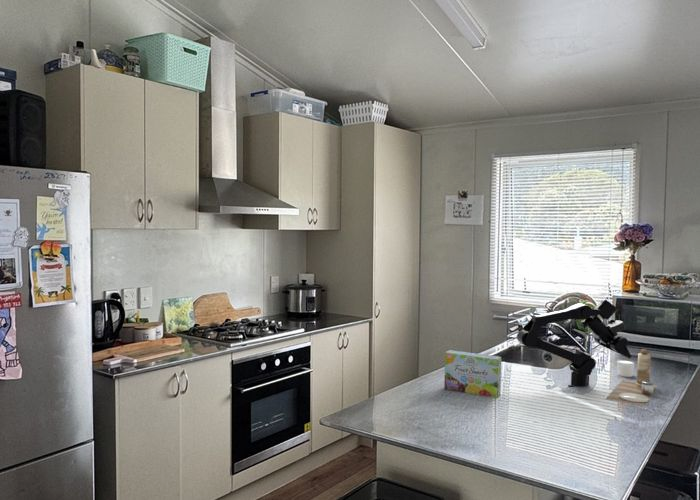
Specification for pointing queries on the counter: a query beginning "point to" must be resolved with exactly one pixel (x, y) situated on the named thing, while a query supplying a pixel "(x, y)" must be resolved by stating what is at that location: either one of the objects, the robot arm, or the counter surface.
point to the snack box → (472, 373)
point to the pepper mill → (643, 367)
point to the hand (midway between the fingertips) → (624, 354)
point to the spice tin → (647, 387)
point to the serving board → (627, 388)
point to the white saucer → (633, 397)
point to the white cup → (625, 368)
